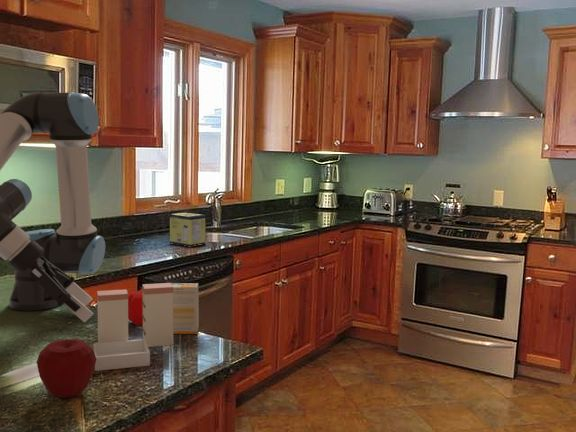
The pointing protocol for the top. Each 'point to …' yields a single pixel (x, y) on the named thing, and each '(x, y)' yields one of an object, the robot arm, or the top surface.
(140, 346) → the tray
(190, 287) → the supplement box
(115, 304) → the stub
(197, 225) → the protein box
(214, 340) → the top surface
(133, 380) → the top surface
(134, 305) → the tomato
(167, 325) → the block
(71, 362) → the apple
